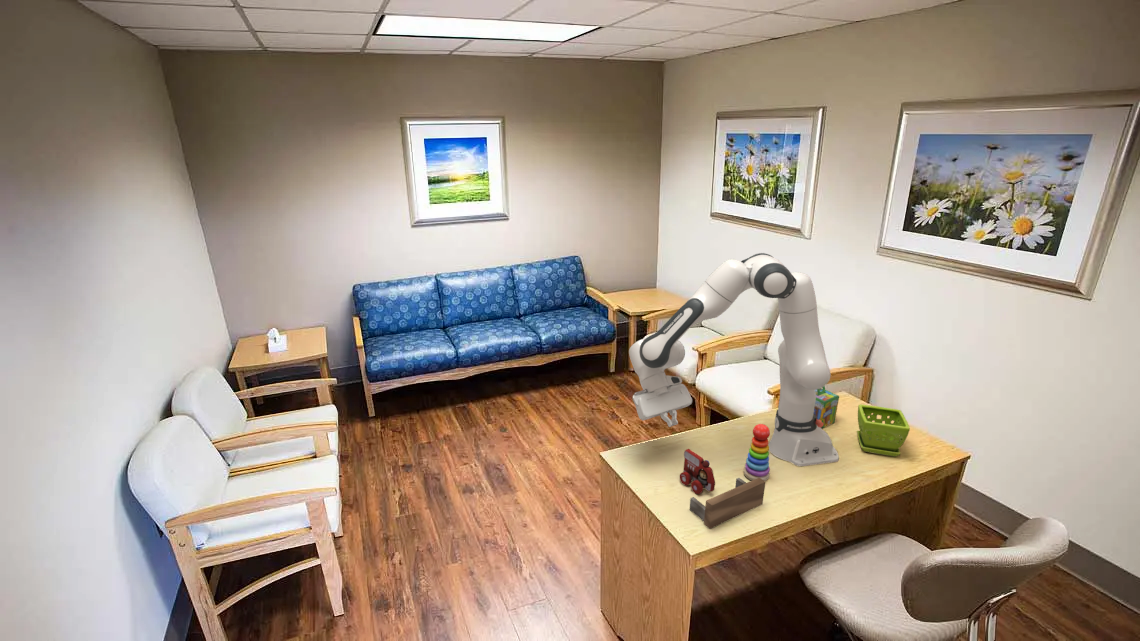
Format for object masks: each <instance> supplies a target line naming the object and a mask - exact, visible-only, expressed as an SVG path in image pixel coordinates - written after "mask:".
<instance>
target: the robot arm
mask: <svg viewBox="0 0 1140 641" xmlns="http://www.w3.org/2000/svg"><path fill="white" fill-rule="evenodd" d="M750 289H754V290H756V292H757V293H758V294H759V295H761V296H763V297H765V298H769V299H777V301H778V302H777V303H778V313H779V321H780V331H781V335H782V337H783V339H782V341H781V342H780V343H779V346H778V348H777V353H778V360H779V385H780V389H779V399H778V407H777V409H776V412H775V418H774V430H773V433H772V435H771V438H770V440H769V443H768V446H769V453H771V454H772V455H774V456H775V457H777V458H778V459H781V460H783V461H787V462H789V463H791V464H793V465H795V466H797V467H806V466H815V465H822V464H830V463H836V462H837V463H838V462H839V459H840V455H839V453H838V451H837V449H836V448H835V447H834V445H833V442H832V439H831V437H830V436H829V434H828V433H827V431H826V430H824V428H820V427H822V426H823V425H824V424H823V422H822V421H821V420H818V418H817V417H816V416H815V415H814V414H813V413H814V407H815V401H816V393H815V390H816V389H820V388H821V389H823V388H822V387H824V386H825V387H826V385H827V384H828V383H829V382H830V380H831V370H830V367H829V364H828V361H827V357H826V352H825V348H824V344H823V340H822V335H821V331H820V326H819V318H818V307H817V306H818V304H817V298H816V297H817V296H816V292H815V288H814V284H813V281H812V278H811V276H809V275H808V274H806V273H804V272H799V271H795V272H791V271H790V270H789V269H788V268H787V267H786V266H785V265H784V264H783V263H782V262H781V261H780V260H779V259H777V258H775V257H774V256H772V255H771V254H768V253H765V252H759V253H755V254H753V255H751V256H749V257H747V258H745V259H743V260H738V259H735V258H733V259H732V258H730V259H729V258H728V259H726V260H725V261H724V262H723V263H721V264H720V265H719V266H718V267H716V269H714V270H713V272H712V273H711V274H710V275H708V277H707V278H706V279H705V280H704V281H703V283H702V284H701V285H700V286H699V288H698V289H697V290H696V291H695V292H694V293H693V294H692V296H690V297H689V299H688V300H687V301H686V302H685V303H684V304H683V305H682V306H681V307H680V308H678V310H677V311H676V312H675V313H674V314H673V315H672V316H671V317H670V318H669V319H668V320H667V321H666V323H665V324H664V325H663V326H662V327H661V328H660V329H658V330H657V331H656V332H655V333H653V334H651V335H649V336H647V337H646V338H641V339H639V340H637V341H635V342H633V343H632V344H631V346H630V347H629V350H628V354H629V356H628V357H629V358H630V361H631V364H632V367H633V370H634V372H635V374H637V376H638V379H639V383H640V384H639V385H641V388H642V390H639V391H636V392H634V394H633V395H632V401H633V403H634V405H635V410H636V413H637V416H638V419H639V420H641V421H646V420H650V419H652V418H656V417H660V418H661V419H662V420H663V421H664V422H665V423H667V426H668V427H669V428H670V427H673V426H676V425H678V424H679V421H678V420H677V419H678V418H677V416H678V412H677V410H681V409H683V408H686V407H689V406H690V405H692V403H693V397H691V394H690V392H689V390H688V388H687V386H686V385H685V384H684V383H682V382H683V379H682V377H681V376H677V375H675V376H674V375H668V374H667V375H666V372H665V370H666V369H669V368H674V367H677V366H679V365H680V364H681V363H682V362H683V360H684V359H685V355H686V350H685V346H684V345H683V343H682V342H681V341H680V339H681V338H682V337H683V335H685V333H686V332H688V331H689V330H690V329H691V328H692V327H693V326H695V325H697V324H698V323H700V322H704V321H707V320H711V319H715V318H718V317H720V316H721V315H723V313H725V312H726V311H727V310H728V309H729V308H730V307H731V306H732V305H733V303H734V302H736V300H737V299H738V297H739V296H740V295H741V294H743V292H745V291H747V290H750ZM668 413H669V415H670V416H671V419H670V417H668Z"/></svg>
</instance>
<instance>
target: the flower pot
mask: <svg viewBox="0 0 1140 641" xmlns="http://www.w3.org/2000/svg"><path fill="white" fill-rule="evenodd" d="M878 416H880V417H881V418H878ZM883 422H884V423H883ZM857 423H858V424H857V425H858V429H859V430H857V431H856V433H857V438H858V442H859V445H860V448H861V450H862V451H863V452H866V453H872V454H876V455H877V454H878V455H882V456H883V455H884V456H888V457H897V456H901V451H900V448H901V446H903V444H904V443H905V441H906V440H907V438H908V436H909V433H910V429H911V428H910V425H909V422H908V421H907V419H906V416H905V415H904V413H903V412H902V410H901V409H897V408H890V407H885V406H877V405H876V406H875V405H870V404H869V405H868V404H860V403H859V404H858V406H857Z"/></svg>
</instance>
